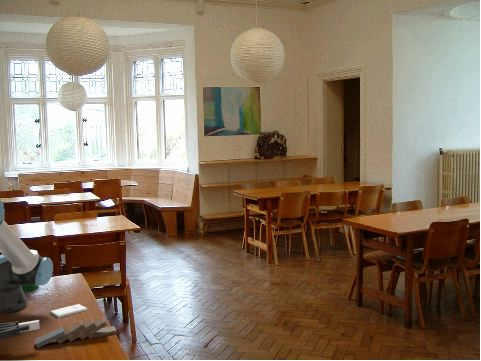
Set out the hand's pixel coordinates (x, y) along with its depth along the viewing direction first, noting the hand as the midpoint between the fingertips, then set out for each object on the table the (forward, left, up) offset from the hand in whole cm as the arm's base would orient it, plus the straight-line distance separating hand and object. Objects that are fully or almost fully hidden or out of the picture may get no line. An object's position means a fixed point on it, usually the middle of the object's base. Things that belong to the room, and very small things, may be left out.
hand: (39, 324), depth 184 cm
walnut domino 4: (0, +16, -7) cm, 18 cm away
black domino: (0, -1, -7) cm, 7 cm away
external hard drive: (-32, +14, -8) cm, 35 cm away
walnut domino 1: (0, +6, -7) cm, 9 cm away
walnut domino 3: (0, +14, -7) cm, 15 cm away
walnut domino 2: (0, +10, -7) cm, 12 cm away
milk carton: (-76, +1, -8) cm, 76 cm away
